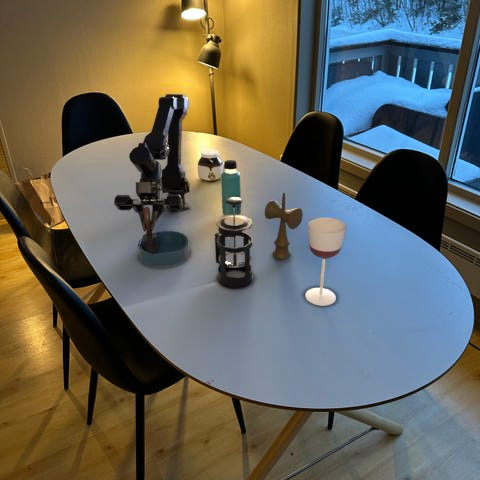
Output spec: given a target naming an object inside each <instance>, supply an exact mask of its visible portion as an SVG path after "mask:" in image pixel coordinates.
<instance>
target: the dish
mask: <svg viewBox="0 0 480 480" xmlns="http://www.w3.org/2000/svg"><path fill="white" fill-rule="evenodd" d="M153 233H155V234H156V235H157V243H158V252H157V253H155V254H153V253H148V252H146V251H144V245H143V237H141V238H140V239H139V240H138V242H137V250H138V251H137V252H138V257H139V260H140V261H141V262H142V263H143V264H145V265H147V266H151V267H170V266H174V265H178V264H179V263H181V262H183V261H184V260H186V259H187V258H188V256H189V255H190V239H189V237H188V236H187V235H185V234H184V233H182V232H180V231H176V230H158V231H154V232H153Z"/></svg>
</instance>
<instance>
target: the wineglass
mask: <svg viewBox="0 0 480 480" xmlns="http://www.w3.org/2000/svg"><path fill="white" fill-rule="evenodd" d="M346 232H347V224H346V223H345V222H344V221H343V220H340V219H337V218H334V217H317V218H313V219H311V220H309V221H308V223H307V240H308V246H309V247H308V248H309V250H310V252H311V253H312V254H313V255H314V256H316V257H317V258H320V259H321V270H320V283H319V287H312V288H310V289H308V290H307V291H306V293H305V299H306V300H307V301H308V302H309V303H310V304H313V305H316V306H323V307H324V306H325V307H326V306H330V305H332V304H334V303H335V302H336V299H337V296H336V294H335V293H334V292H333V291H332V290H331V289H329V288H324V282H325V281H324V280H325V269H326V260H327V259H330V258H334V257H336V256H337V255H338V254H339V253H340V252H341V251H342V248H343V245H344V241H345V237H346Z"/></svg>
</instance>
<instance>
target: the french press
mask: <svg viewBox="0 0 480 480" xmlns="http://www.w3.org/2000/svg"><path fill="white" fill-rule="evenodd" d="M243 201H244V200H243V199H242V198H241V199H240V198H236V197H233V198H228V199H227V200H226V201H225V202H226V203H227V204H230V205H232V207H233V211H234V215H227V216H225V215H223V216H221V217H219V218H218V219H217V220H216V222H215V224H216V227H217V228H218V230H217V231H218V232H216V233H215V234H214V248H215V249H214V250H215V252H214V253H215V263H216V264H219V265H218V266H217V267H218V268H217V282H218V284H219V285H220V286H222V287H224V288H226V289H230V290H231V289H232V290H238V289H239V290H240V289H244V288H246V287H249V286H250V285H251V284H252V282H253V280H254V276H253V266H252V264H251V260H252V256H251V248H252V247H253V237H252V236H251V235H250V234H248V233H247V232H245V231H247V230H248V229H249V230H250V229H251V228H252V226H253V220H252V219H251V218H250V217H248V216H246V215H244V214H243V215H242V214H240V215H235V208H236V205H238V204H241V205H242V203H243ZM236 237H241V238H242V240H243V241H242V242H243V243H242V246H240V247H236ZM226 238H233V247H230V246H229V247H228V246H226ZM232 271H240V272H243V273H244V275H242V276H236V277H235V276H234V277H233V276H227V273H228V272H232Z"/></svg>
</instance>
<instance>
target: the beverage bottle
mask: <svg viewBox="0 0 480 480" xmlns="http://www.w3.org/2000/svg"><path fill="white" fill-rule="evenodd" d="M224 168H225V169H228V170H225V171H224V172H223V173H222V174H221V179H220V180H221V209H222V215H223V216H227V215H234V211H233V207H232V205H230V204H227V203H226V202H225V201H226V200H227V199H228V198H233V197H236V198H240V199H242V193H241V192H242V191H241V190H242V189H241V186H242V185H241V173H240V171H238V170H237V168H238V165H237V161H236V160H235V159H226V160H225V161H224ZM241 213H242V203H241V204H238V205H236V208H235V215H241Z"/></svg>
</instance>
